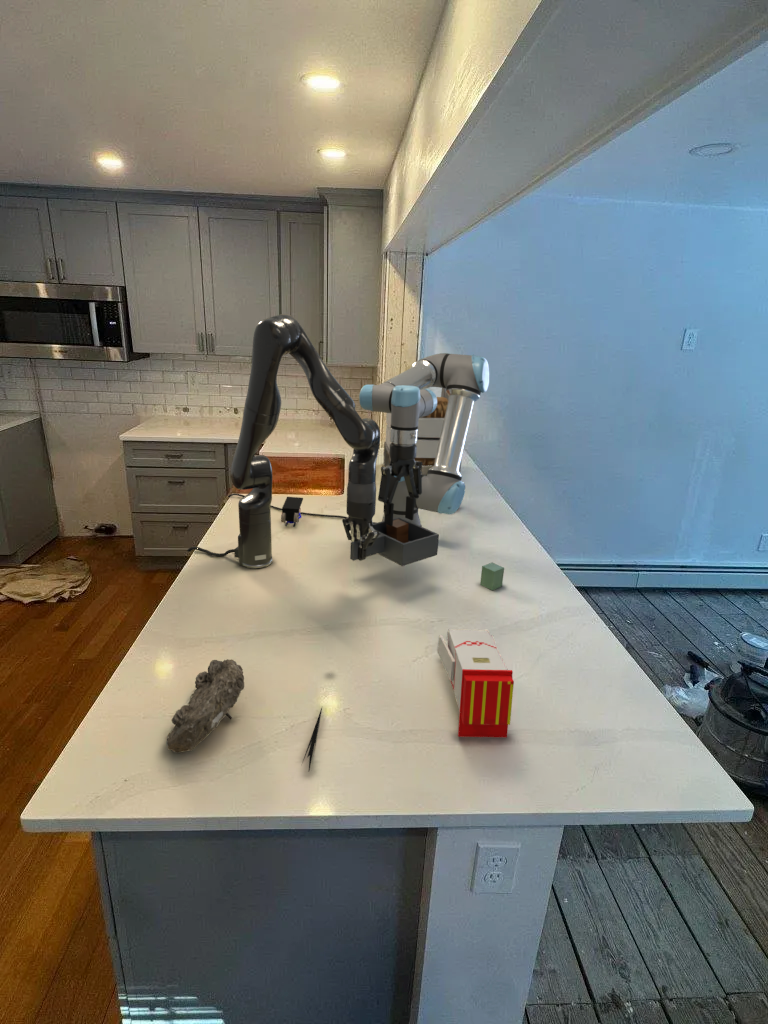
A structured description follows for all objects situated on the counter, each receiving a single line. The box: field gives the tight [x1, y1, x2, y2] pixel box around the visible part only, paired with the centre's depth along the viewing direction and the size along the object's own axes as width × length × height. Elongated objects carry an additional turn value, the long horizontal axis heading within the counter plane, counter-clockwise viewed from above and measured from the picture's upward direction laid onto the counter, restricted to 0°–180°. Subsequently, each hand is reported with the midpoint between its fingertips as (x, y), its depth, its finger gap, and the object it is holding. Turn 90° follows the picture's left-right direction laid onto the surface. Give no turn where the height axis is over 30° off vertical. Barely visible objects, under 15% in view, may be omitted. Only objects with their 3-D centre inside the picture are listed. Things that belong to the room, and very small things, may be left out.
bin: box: [349, 517, 440, 567], centre depth 158 cm, size 17×24×6 cm
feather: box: [301, 673, 332, 771], centre depth 108 cm, size 2×28×2 cm
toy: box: [437, 628, 515, 738], centre depth 117 cm, size 12×13×30 cm
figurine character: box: [280, 496, 304, 528], centre depth 205 cm, size 7×8×15 cm
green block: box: [479, 561, 505, 591], centre depth 164 cm, size 4×4×6 cm
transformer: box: [383, 388, 463, 475], centre depth 268 cm, size 34×33×41 cm
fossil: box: [166, 658, 245, 754], centre depth 106 cm, size 22×10×15 cm
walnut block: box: [387, 519, 408, 543], centre depth 164 cm, size 4×4×6 cm
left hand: (359, 558), depth 152 cm, fingers closed on bin, 1 cm apart
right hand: (399, 521), depth 163 cm, fingers open, 7 cm apart
